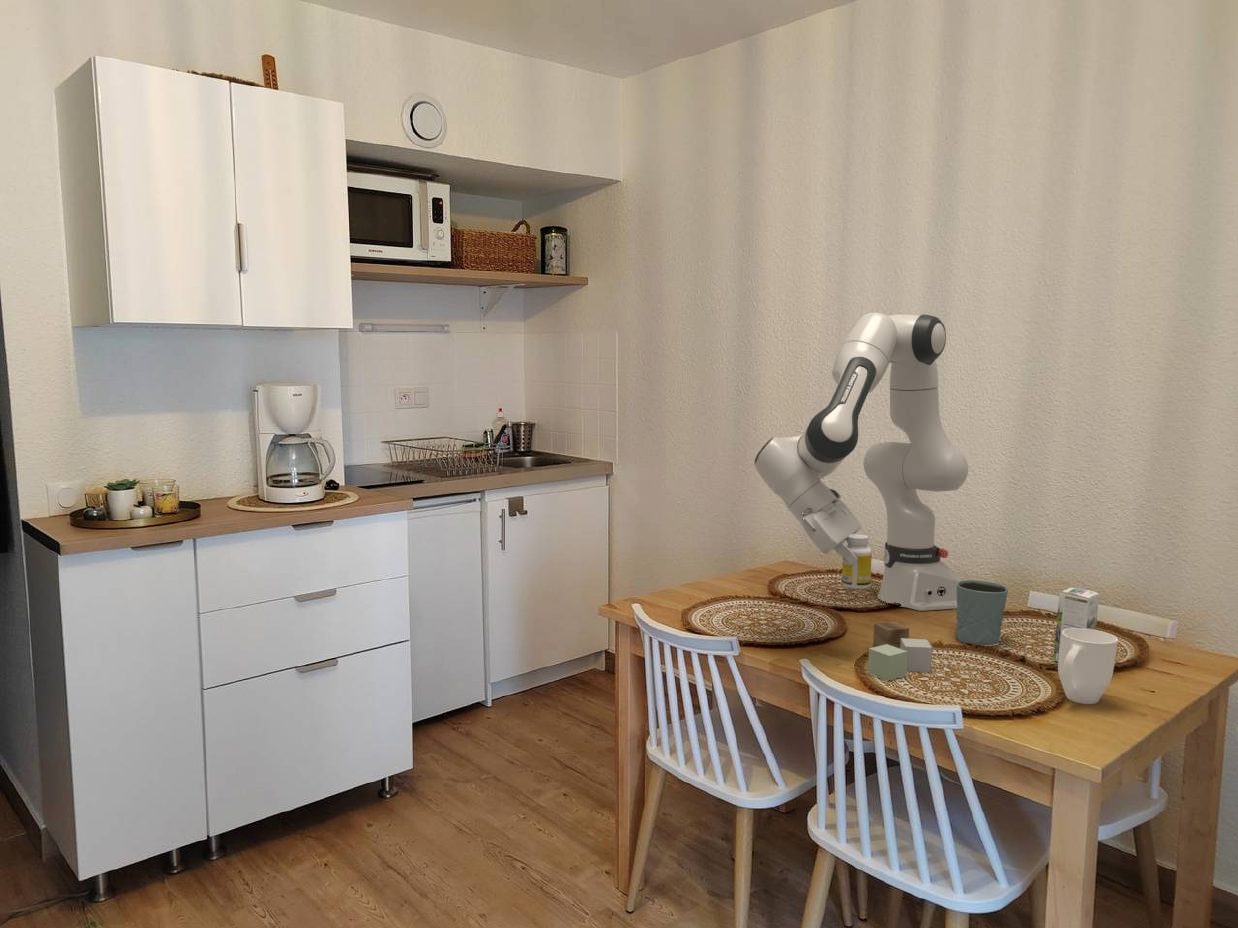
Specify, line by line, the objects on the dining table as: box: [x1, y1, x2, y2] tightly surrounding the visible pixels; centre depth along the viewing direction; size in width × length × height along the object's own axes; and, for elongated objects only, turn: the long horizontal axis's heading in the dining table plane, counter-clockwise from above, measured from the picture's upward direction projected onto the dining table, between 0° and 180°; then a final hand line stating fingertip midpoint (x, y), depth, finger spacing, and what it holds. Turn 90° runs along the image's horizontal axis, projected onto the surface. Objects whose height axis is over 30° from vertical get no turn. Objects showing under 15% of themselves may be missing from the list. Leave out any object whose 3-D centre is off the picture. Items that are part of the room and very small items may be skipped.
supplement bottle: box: [841, 533, 873, 590], centre depth 182 cm, size 6×6×10 cm
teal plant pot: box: [955, 579, 1009, 645], centre depth 193 cm, size 10×10×12 cm
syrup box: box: [1052, 587, 1100, 661], centre depth 180 cm, size 6×6×14 cm
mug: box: [1057, 628, 1119, 705], centre depth 160 cm, size 12×9×12 cm
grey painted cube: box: [900, 638, 933, 673], centre depth 177 cm, size 5×5×5 cm
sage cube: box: [867, 644, 908, 681], centre depth 172 cm, size 5×5×5 cm
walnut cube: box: [872, 620, 910, 649], centre depth 188 cm, size 5×5×5 cm
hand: (860, 558), depth 181 cm, fingers closed on supplement bottle, 6 cm apart
